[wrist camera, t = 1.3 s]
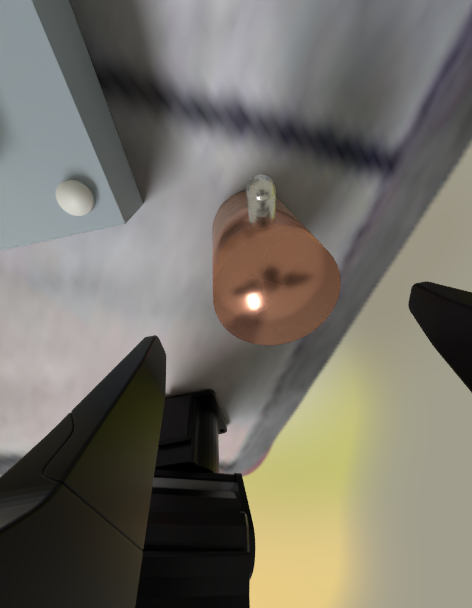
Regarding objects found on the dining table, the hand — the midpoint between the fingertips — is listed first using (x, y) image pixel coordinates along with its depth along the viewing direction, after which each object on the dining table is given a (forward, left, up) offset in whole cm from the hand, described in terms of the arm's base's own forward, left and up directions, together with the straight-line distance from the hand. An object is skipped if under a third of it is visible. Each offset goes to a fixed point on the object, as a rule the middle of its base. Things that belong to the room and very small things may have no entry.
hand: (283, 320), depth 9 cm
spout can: (0, 0, -9) cm, 9 cm away
